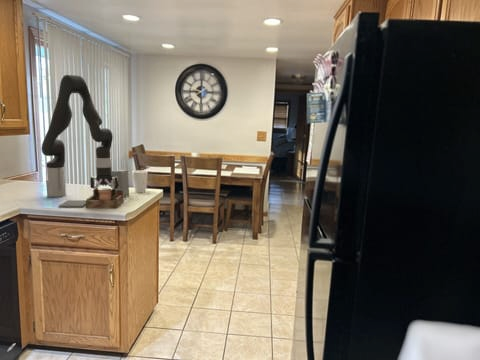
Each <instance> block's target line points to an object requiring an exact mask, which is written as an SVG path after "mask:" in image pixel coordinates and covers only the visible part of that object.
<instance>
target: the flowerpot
mask: <svg viewBox="0 0 480 360" xmlns="http://www.w3.org/2000/svg"><path fill="white" fill-rule="evenodd" d="M111 190H112V188H108V187H107V188H106V187H105V188H100V189H99V188H98V192H99V198H100V200H111Z"/></svg>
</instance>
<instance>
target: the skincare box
mask: <svg viewBox="0 0 480 360" xmlns="http://www.w3.org/2000/svg"><path fill="white" fill-rule="evenodd" d="M112 177H118V182H119V187H118V188H116V189H115V190H123V197H127V196H129V195H130V187H129V170H128V169H117V170H116V169H115V170H112ZM111 182H112V183H113V184H114V186H115V181H114V180H113V179H112V181H111Z"/></svg>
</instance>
